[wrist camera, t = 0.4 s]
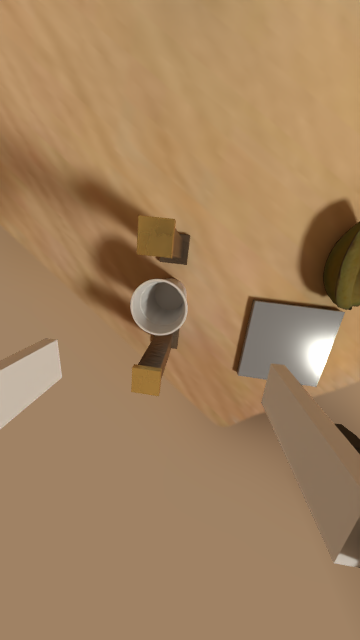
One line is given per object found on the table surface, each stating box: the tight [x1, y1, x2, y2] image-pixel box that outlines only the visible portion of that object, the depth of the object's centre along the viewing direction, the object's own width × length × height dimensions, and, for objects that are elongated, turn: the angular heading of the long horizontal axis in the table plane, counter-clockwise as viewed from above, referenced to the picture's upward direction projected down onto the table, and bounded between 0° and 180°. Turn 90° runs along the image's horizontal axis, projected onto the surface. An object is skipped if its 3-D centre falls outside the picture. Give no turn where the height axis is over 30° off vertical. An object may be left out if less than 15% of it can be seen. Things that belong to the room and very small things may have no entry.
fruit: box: [323, 222, 360, 310], centre depth 30 cm, size 11×12×7 cm
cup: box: [130, 278, 187, 335], centre depth 32 cm, size 8×8×12 cm
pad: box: [237, 300, 345, 387], centre depth 38 cm, size 16×16×1 cm
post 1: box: [137, 215, 190, 265], centre depth 27 cm, size 5×5×17 cm
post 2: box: [131, 329, 179, 396], centre depth 32 cm, size 5×5×17 cm
